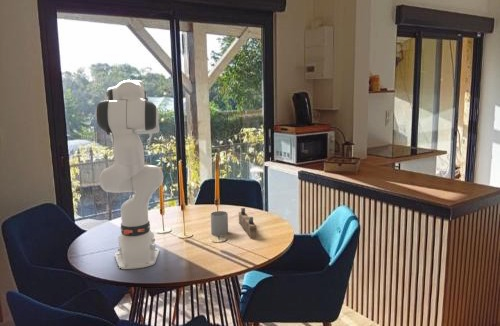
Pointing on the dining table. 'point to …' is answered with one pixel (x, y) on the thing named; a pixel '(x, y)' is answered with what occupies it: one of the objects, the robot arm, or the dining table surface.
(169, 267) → the dining table surface
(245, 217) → the stop fence
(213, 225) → the cup
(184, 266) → the dining table surface
